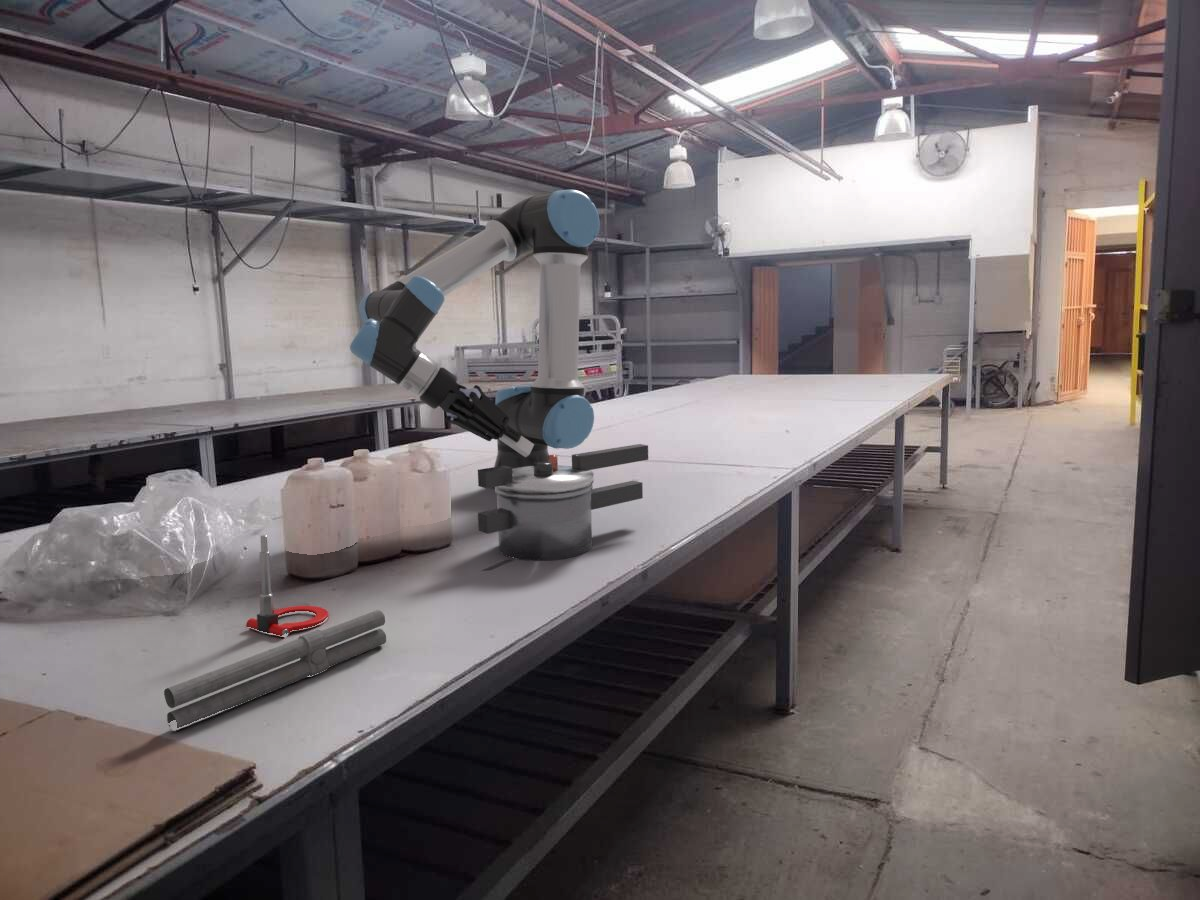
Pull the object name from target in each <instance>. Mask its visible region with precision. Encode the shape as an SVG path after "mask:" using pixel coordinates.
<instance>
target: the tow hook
mask: <svg viewBox="0 0 1200 900" xmlns="http://www.w3.org/2000/svg"><path fill="white" fill-rule="evenodd" d="M259 539H260V551H259V573H260V593H261V594H260V595H259V597H258V598H259V613H258V614H256V618H254V617H253V618H252V617H251V618H249V619H248V620H247V621H246V626H245V627H246V628H247V627H251V628H254V629H257V630H259V631H263V632H267V633H273V634H276V635H280V636H282V635H284V634H285V633H286V634H287V633H289V632H290V631H292V630H299V629H303V628H308V627H312V626H315V625H317V624H319V623H321V622H323V621H324V620H325V619H326V618H327V617H328V618H329V611H328V610H327V609H326V608H323V607H320V606H316V605H315V606H314V605H294V606H286V607H281V608H278V609H275V604H274V603H275V601H274V594H273V593H272V581H271V580H272V579H271V560H270V559H271V556H270V554H271V553H270V551H269V550H268V536H267V534H262V535H260V538H259ZM295 611H309V612H313V613H315V614H316V616H314V617H312V618H310V619H306V620H303V621H299V622H285V623H282V624H279V618H278V616H279V615H282V614H285V613H289V612H295ZM259 631H258V632H259ZM289 634H290V633H289Z"/></svg>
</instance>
